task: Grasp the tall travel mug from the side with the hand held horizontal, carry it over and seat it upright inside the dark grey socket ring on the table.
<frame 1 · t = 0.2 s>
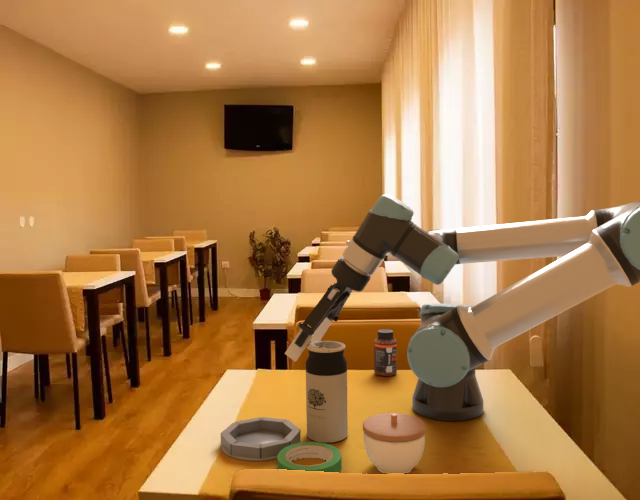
hand: (301, 349, 127), 15 cm above the table, tool tilted 35°, fingers open, 13 cm apart
lidded jar: (394, 468, 105), on the table
travel mug: (327, 436, 119), on the table
supplement bottle: (385, 374, 159), on the table
socket ring: (261, 443, 116), on the table
tape roll: (309, 470, 106), on the table
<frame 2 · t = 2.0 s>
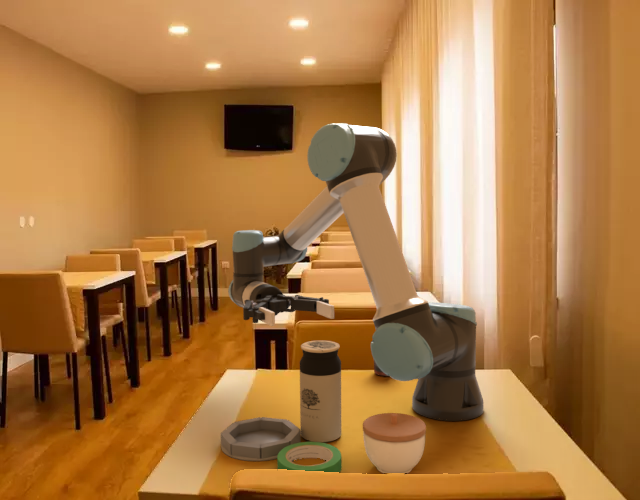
hand: (303, 315, 126), 22 cm above the table, tool horizontal, fingers open, 13 cm apart
travel mug: (321, 436, 119), on the table
everything else where it was.
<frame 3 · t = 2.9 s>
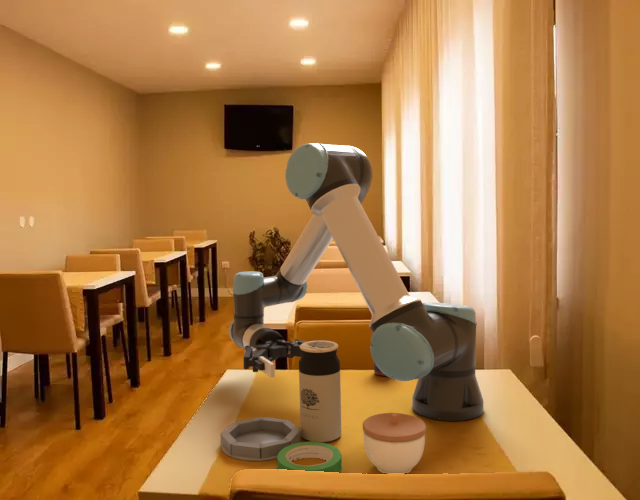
hand: (303, 366, 127), 11 cm above the table, tool horizontal, fingers open, 13 cm apart
nothing on the table moved.
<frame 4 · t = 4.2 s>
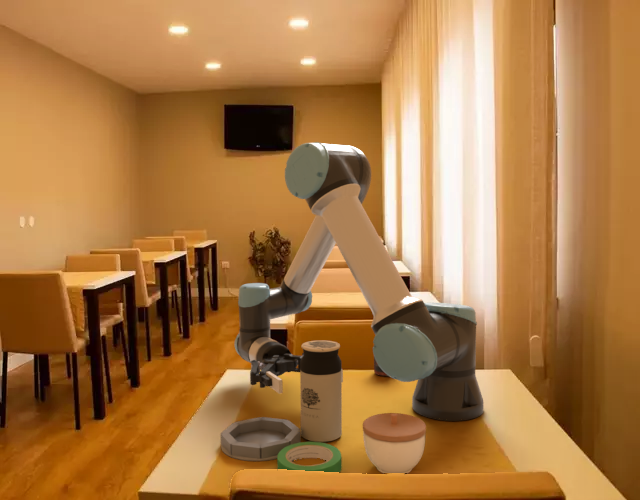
hand: (311, 381, 123), 9 cm above the table, tool horizontal, fingers open, 13 cm apart
nothing on the table moved.
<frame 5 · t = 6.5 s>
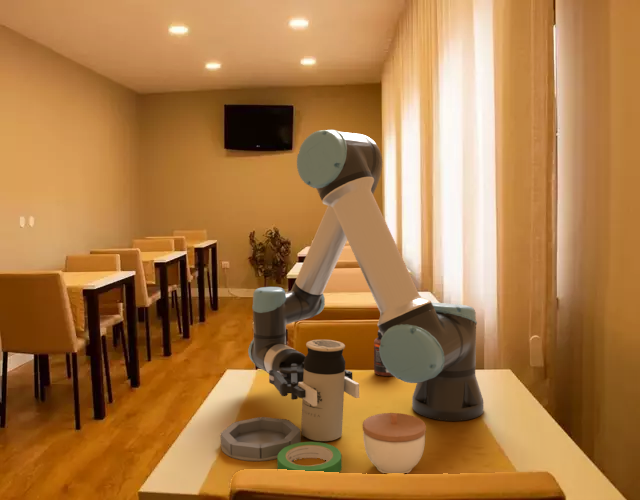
hand: (336, 394, 114), 10 cm above the table, tool horizontal, fingers closed on travel mug, 8 cm apart
travel mug: (321, 435, 119), on the table, touching gripper
everything else where it was.
when the fingers open (10 cm above the table, at t = 12.0 s): travel mug stays where it is, resting on socket ring.
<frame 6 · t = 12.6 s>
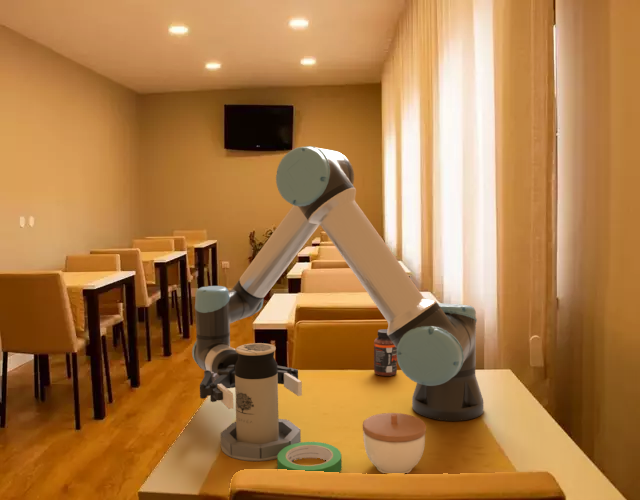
hand: (266, 394, 112), 10 cm above the table, tool horizontal, fingers open, 13 cm apart
travel mug: (257, 441, 116), resting on socket ring
everything else where it was.
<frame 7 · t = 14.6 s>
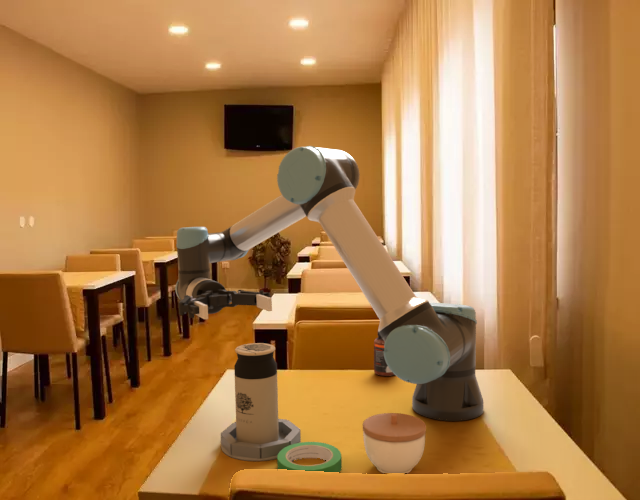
hand: (239, 308, 123), 24 cm above the table, tool horizontal, fingers open, 13 cm apart
nothing on the table moved.
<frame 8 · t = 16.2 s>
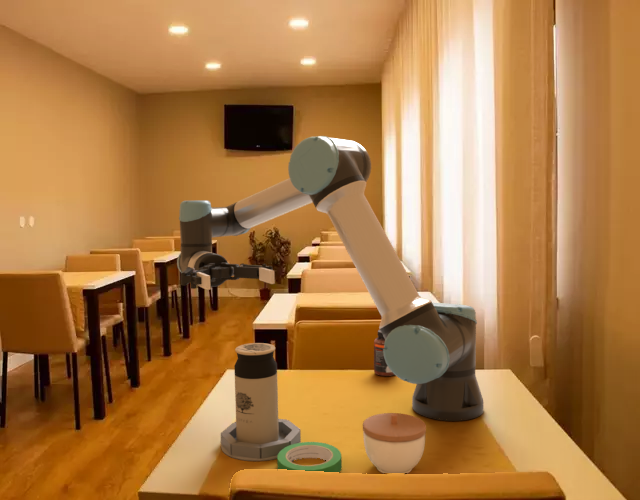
hand: (241, 280, 122), 30 cm above the table, tool horizontal, fingers open, 13 cm apart
nothing on the table moved.
at the end: travel mug 0.9 cm from the socket ring (horizontally); travel mug tilted 0°; the gripper is holding nothing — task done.
